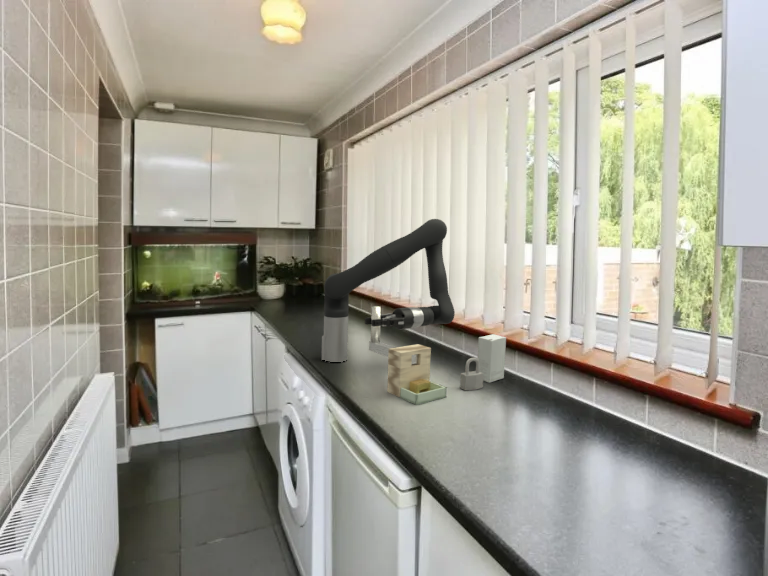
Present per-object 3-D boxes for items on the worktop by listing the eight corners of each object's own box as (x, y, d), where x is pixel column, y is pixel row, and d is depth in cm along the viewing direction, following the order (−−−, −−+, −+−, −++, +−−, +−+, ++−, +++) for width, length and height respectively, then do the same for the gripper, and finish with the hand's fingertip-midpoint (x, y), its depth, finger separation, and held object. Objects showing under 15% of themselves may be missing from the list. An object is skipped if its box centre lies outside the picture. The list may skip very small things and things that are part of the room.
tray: (400, 397, 133) (400, 387, 133) (429, 390, 141) (430, 381, 140) (416, 405, 128) (416, 394, 127) (446, 397, 135) (446, 387, 135)
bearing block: (387, 391, 138) (388, 348, 137) (416, 384, 146) (418, 344, 144) (399, 397, 134) (401, 352, 132) (429, 390, 141) (430, 347, 140)
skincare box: (490, 374, 160) (492, 333, 158) (504, 379, 155) (507, 336, 154) (475, 378, 154) (477, 336, 153) (489, 383, 150) (492, 339, 148)
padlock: (476, 384, 148) (477, 355, 147) (484, 388, 144) (485, 358, 143) (458, 387, 144) (460, 357, 143) (466, 391, 141) (468, 360, 140)
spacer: (409, 393, 135) (409, 381, 135) (422, 390, 138) (422, 378, 138) (417, 397, 132) (417, 384, 132) (430, 393, 136) (430, 381, 135)
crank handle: (368, 350, 153) (369, 306, 152) (376, 348, 155) (377, 305, 154) (409, 364, 136) (411, 316, 135) (417, 363, 138) (419, 315, 137)
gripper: (395, 305, 166) (357, 308, 155) (421, 310, 155) (381, 314, 144) (395, 325, 166) (356, 329, 156) (420, 331, 155) (381, 337, 145)
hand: (368, 322), depth 150 cm, fingers closed on crank handle, 3 cm apart
